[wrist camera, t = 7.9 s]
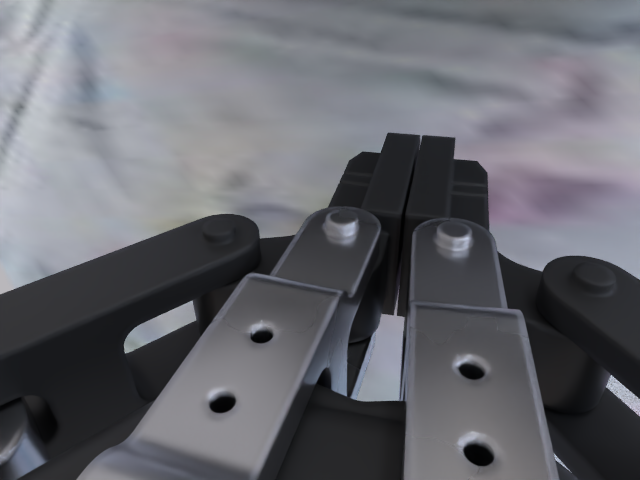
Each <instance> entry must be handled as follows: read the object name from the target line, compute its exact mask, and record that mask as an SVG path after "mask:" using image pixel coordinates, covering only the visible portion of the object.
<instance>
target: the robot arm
mask: <svg viewBox="0 0 640 480" xmlns="http://www.w3.org/2000/svg"><path fill="white" fill-rule="evenodd" d="M419 147H420V150H419ZM454 148H455V138H454V137H440V136H427V135H423V136H422V140H421V145H420V135H413V134H400V133H387V136H386V139H385V142H384V144H383V147H382V150H381V153H374V152H361V153H360V154H358V155H357V156H355V157H354V158H352V159H351V160H349V162H348V164H347V167H346V169H345V171H344V174H343V175H342V178H341V180H340V184H338V186H337V189H336V191H335V193H334V195H333V197H332V199H331V202H330V204H329V206H328V208H325V209H321V210H319V211H316V212H315V213H313V214H311V215H310V216H309V217H308V218H307V219H306V220H305V222H304V223H303V225H302V226H301V228H300V229H299V231H298V232H297V234H296V235H292V236H286V237H274V238H261V239H260V236H259V229H258V226H257V225H256V223H254V222H253V221H252V220H250V219H249V218H246V217H244V216H240V215H234V214H219V215H212V216H208V217H205V218H202V219H199V220H196V221H194V222H191V223H188V224H186V225H183V226H180V227H178V228H175V229H172V230H170V231H167V232H164V233H162V234H159V235H156V236H154V237H151V238H149V239H146V240H143V241H141V242H138V243H135V244H133V245H130V246H127V247H125V248H122V249H119V250H117V251H114V252H112V253H109V254H106V255H104V256H101V257H98V258H96V259H93V260H90V261H88V262H85V263H82V264H80V265H77V266H74V267H72V268H69V269H67V270H64V271H61V272H59V273H56V274H53V275H51V276H48V277H45V278H43V279H40V280H37V281H35V282H32V283H30V284H27V285H24V286H22V287H19V288H16V289H14V290H11V291H8V292H6V293H4V294H0V480H640V416H638V415H637V414H636V413H635V412H634V411H633V410H632V409H630V408H629V407H628V406H627V405H626V404H625V403H624V402H622V401H621V400H620V399H619V398H618V397H617V396H616V395H614V394H613V393H612V392H611V391H610V390H609V389H608V388H606V385H607V382H608V380H609V378H610V375H612V376H613V377H614V378H616V379H617V380H618V381H619V382H620V383H622V384H623V385H624V386H625V387H626V388H627V389H629V390H630V391H631V392H632V393H633V394H635V395H636V396H637V397H638V398H639V399H640V280H639V279H637V278H636V277H634V276H633V275H631V274H630V273H628V272H626V271H625V270H623V269H621V268H620V267H618V266H616V265H614V264H612V263H609V262H606V261H603V260H600V259H596V258H592V257H586V256H564V257H560V258H557V259H554V260H552V261H551V262H549V263H548V264H547V265H546V266H545V268H544V270H543V272H541V271H538V270H534V269H531V268H528V267H525V266H522V265H520V264H517V263H515V262H513V261H511V260H509V259H508V258H506V257H504V256H503V255H502V254H500V253H499V252H498V251H497V247H496V242H495V239H494V237H493V236H492V234H491V233H490V232H489V211H488V188H487V187H488V175H487V172H486V171H485V169H484V168H483V167H482V166H481V165H480V164H479V163H478V162H477V161H469V160H457V159H454ZM398 290H399V297H398V309H397V316H403V317H405V321H404V331H403V342H402V354H401V371H400V389H399V401H373V402H364V401H357V400H356V398H357V395H358V392H359V389H360V386H361V383H362V380H363V377H364V374H365V371H366V368H367V365H368V362H369V359H370V356H371V353H372V350H373V347H374V344H375V332H376V329H377V328H378V325H379V322H380V317H381V313H382V314H388V315H394V310H395V305H396V300H397V295H398ZM192 300H193V305H194V310H195V315H196V319H197V320H196V321H194V322H192V323H190V324H188V325H186V326H184V327H182V328H180V329H177V330H175V331H173V332H171V333H169V334H167V335H165V336H163V337H161V338H159V339H157V340H155V341H153V342H151V343H148V344H146V345H144V346H142V347H140V348H138V349H136V350H134V351H132V352H129V353H126V354H125V352H124V341H125V339H126V337H127V335H128V334H129V333H130V332H131V331H132V330H133V329H134V328H135V327H136V326H138V325H140V324H142V323H144V322H146V321H148V320H150V319H152V318H155V317H157V316H159V315H161V314H163V313H166V312H168V311H170V310H172V309H174V308H176V307H179V306H181V305H183V304H185V303H187V302H189V301H192ZM554 454H555V455H556V456H557V457H558V458H559V459H560V460H561V461H562V462H563V463H564V465H565V466H566V467H567V468H568V469H569V470H570V471H571V472H572V473H573V474H572V473H571V472H570V471H569V470H567V469H566V468H565V467H563V466H562V465H561V464H560V463H558V462H557V461H555V458H554Z"/></svg>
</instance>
